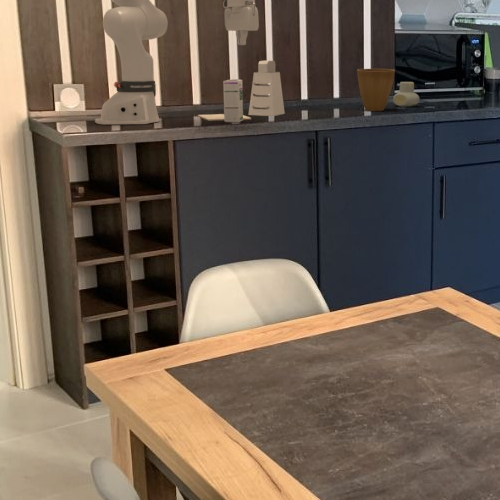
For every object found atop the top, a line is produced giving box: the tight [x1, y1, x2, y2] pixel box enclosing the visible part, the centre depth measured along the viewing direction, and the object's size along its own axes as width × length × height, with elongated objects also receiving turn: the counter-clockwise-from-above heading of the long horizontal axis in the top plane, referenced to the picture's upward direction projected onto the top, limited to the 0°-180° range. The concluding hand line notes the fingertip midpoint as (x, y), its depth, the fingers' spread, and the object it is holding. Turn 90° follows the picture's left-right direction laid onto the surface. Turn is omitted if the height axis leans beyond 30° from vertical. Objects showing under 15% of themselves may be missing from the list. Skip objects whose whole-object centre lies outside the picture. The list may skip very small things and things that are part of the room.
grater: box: [247, 60, 286, 117], centre depth 317 cm, size 10×10×20 cm
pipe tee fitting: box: [392, 81, 420, 108], centre depth 349 cm, size 11×8×10 cm
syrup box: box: [222, 78, 244, 123], centre depth 293 cm, size 6×6×14 cm
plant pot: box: [356, 68, 396, 112], centre depth 332 cm, size 15×15×16 cm
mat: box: [197, 113, 252, 122], centre depth 306 cm, size 16×16×1 cm
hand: (241, 45), depth 277 cm, fingers closed
